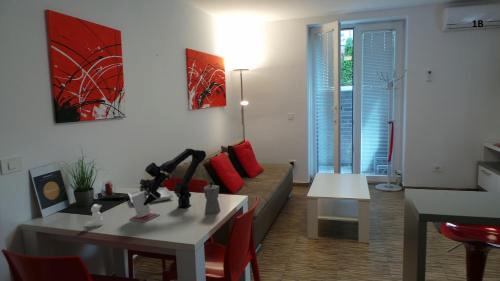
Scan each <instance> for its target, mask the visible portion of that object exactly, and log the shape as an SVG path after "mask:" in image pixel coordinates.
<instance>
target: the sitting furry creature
mask: <svg viewBox="0 0 500 281" xmlns="http://www.w3.org/2000/svg"><path fill="white" fill-rule="evenodd" d="M101 208H102V204H97V203H95V204H93V205H92V207H91V208H90V212H92V214H91V221H87V222H85V223H84V226H85V227H86V228H87V227H88V228H92V227H95V228H96V227H101V226H102V225H103V224H104V222H105V221H104V219H103V217H102V213H101V212H100V210H101Z"/></svg>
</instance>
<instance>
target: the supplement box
mask: <svg viewBox="0 0 500 281" xmlns="http://www.w3.org/2000/svg"><path fill="white" fill-rule="evenodd" d="M131 198H132V201H133V204H132V205H133V208H134V210H135V213H136V215H137V216H138V218H139V217H142V216H146V215H149V214H150V213H152V208H151V205H150V203H149V204H147V205H145V206H144V205H143V204H144V202H145V201H146V199H147V196H146V193H145V191H142V192H139V193H136V194H133V195H132V197H131Z"/></svg>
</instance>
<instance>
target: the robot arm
mask: <svg viewBox="0 0 500 281" xmlns="http://www.w3.org/2000/svg"><path fill="white" fill-rule="evenodd" d="M190 156H191V162H190V164H189V166H188V168H187V170H186V171H185V174H184V175H183V178H182V180H181V181H177V182H176V183H175V186H174V187H173V188H174V189H173V192H174V195H176V197H177V198H178V199H177V202H178V203H177V204H178V206H177V208H180V209H187V208H189V207H191V206H192V204H191V201H190V200H191V199H190V198H192V193H191V192H189V188H190V182H191V181H192V179H193V176H194V175H195V172H196V171H197V169H198V166H199V165H200V164H201V163H202V162H204V160H205V159H206V157H207V152H206V151H205V150H202V149H201V150H200V149H193V148H185V150H184V151H182V152H181V153H179V154H177V156H176V157H174V158H172V159H171V160H167V161H165V162H163V163H162V164H161V165H157V164H156V163H155V162H151V163H149V164H148V165H147V166H146V167H145V169H144V170H145V172H146V173H147V174H148V175H149V176H150V177H152V178H153V179H144V178H141V179H140V181H139V185H140V186H139V191H140V192H142V191H145V193H146V196H148V197H147V199H146V201H145V202H144V204H143V205H144V206H145V205H147V204H149V205H150V202H151V203H153V202H152V201H154V200H156V199H157V198H158V199H159V198H160V197H161V194H160V193H159V192H157V190H158V189H159V188H163V187H162V185H163V184H164V182H165V181H166V180H168V181H170V180H171V179H170V174H172V173H173V172H174V171H175V170H176V169H177V166H179V165H180V164H181V163H182V162H184V161H185V160H186V159H188V158H189V157H190ZM147 193H148V194H147ZM150 193H151V194H150Z"/></svg>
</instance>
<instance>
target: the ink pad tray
mask: <svg viewBox="0 0 500 281" xmlns="http://www.w3.org/2000/svg"><path fill="white" fill-rule="evenodd" d="M158 217H160V213H154V212H150V214H149V215H146V216H142V217H139V218H138V216H137V214H136V215H134V216H132V217H130V218H129V219H128V220H129V221H133V222H140V223H148V222H149V221H152V220H153V219H155V218H158Z"/></svg>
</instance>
